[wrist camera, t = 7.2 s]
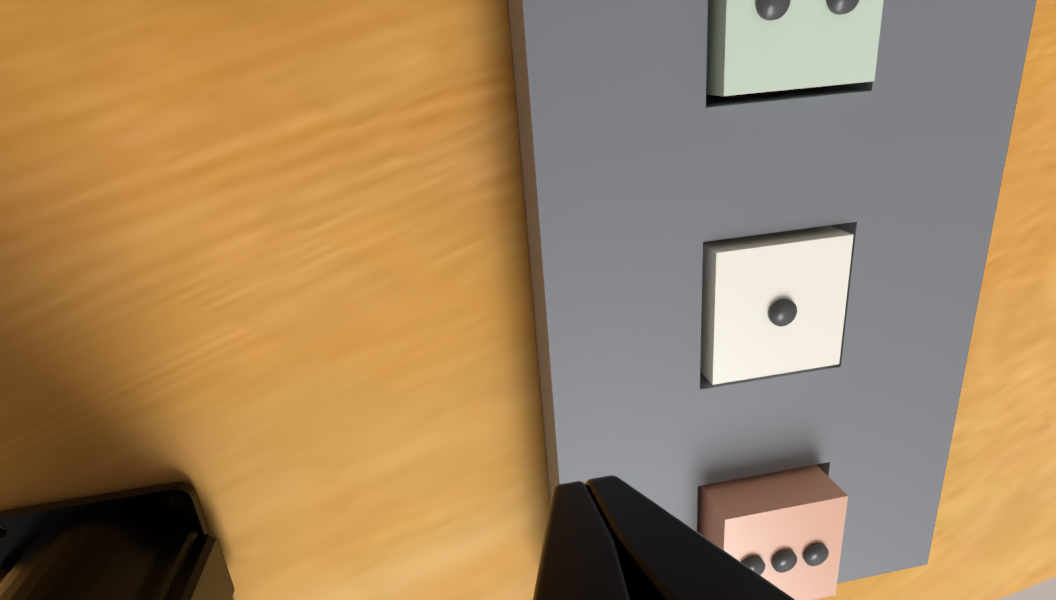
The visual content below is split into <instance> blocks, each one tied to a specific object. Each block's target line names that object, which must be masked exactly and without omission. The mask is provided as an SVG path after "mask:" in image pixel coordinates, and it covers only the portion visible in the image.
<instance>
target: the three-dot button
mask: <svg viewBox="0 0 1056 600" xmlns="http://www.w3.org/2000/svg"><path fill="white" fill-rule="evenodd" d="M847 501H848V495H847V494H846V493H845V492H844V491H843V490H842V489H841V488H839V487H838V486H837V485H836V484H835V483H834V482H833V481H832V480H831V479H830V478H829V477H828V476H827V475H826V474H825V473H824V472H823V471H822V470H821V469H820V468H819V467H818V466H817V465H816V464H815V465H810V466H805V467H799V468H794V469H788V470H783V471H778V472H772V473H767V474H761V475H756V476H750V477H745V478H740V479H734V480H729V481H723V482H718V483H713V484H707V485H702V486H698V502H697V532H698V533H700V534H701V535H703V536H704V537H705V538H707V539H708V540H710V541H711V542H713V543H714V544H716V545H717V546H718V547H720V548H721V549H723V550H724V551H726V552H727V553H729V554H730V555H731V556H733V557H734V558H736V559H737V560H739V561H740V562H742V563H743V564H745V565H746V566H747V567H749V568H750V569H752V570H753V571H755V572H756V573H758V574H759V575H760V576H762V577H763V578H765V579H766V580H768V581H769V582H771V583H772V584H773V585H775V586H776V587H778V588H779V589H781V590H782V591H784V592H785V593H786V594H788V595H789V596H791V597H792V598H794V599H795V600H815V599H820V598H824V597H829V596H833V595H836V587H837V579H838V571H839V563H840V556H841V548H842V540H843V532H844V524H845V517H846V509H847Z"/></svg>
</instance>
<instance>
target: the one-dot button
mask: <svg viewBox="0 0 1056 600" xmlns="http://www.w3.org/2000/svg"><path fill="white" fill-rule="evenodd" d="M852 244H853V234H851V233H848V232H846V231H843V230H840V229H838V228H835V227H832V226H830V225H829V226H821V227H813V228H806V229H798V230H790V231H783V232H775V233H768V234H760V235H752V236H745V237H737V238H730V239H722V240H714V241H707V242H703V262H702V310H701V358H700V372H701V373H702V374H703V375H704V376H705V377H706V378H707V379H708V380H709V381H710V383H711V384H712V385H714V384H720V383H727V382H733V381H739V380H745V379H751V378H757V377H763V376H770V375H776V374H782V373H788V372H794V371H800V370H806V369H813V368H819V367H825V366H831V365H837V364H839V361H840V352H841V343H842V334H843V325H844V316H845V307H846V298H847V289H848V280H849V271H850V262H851V253H852Z"/></svg>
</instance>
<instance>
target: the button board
mask: <svg viewBox="0 0 1056 600" xmlns="http://www.w3.org/2000/svg"><path fill="white" fill-rule="evenodd" d="M1036 1H1037V0H884V1H883V10H882V19H881V28H880V36H879V45H878V54H877V63H876V72H875V81H872V82H862V83H852V84H842V85H832V86H822V87H820V88H817V89H807V90H797V91H787V92H777V93H767V94H757V95H747V96H737V97H727V98H717V99H707V100H706V70H707V22H708V0H508V9H509V21H510V32H511V44H512V56H513V68H514V80H515V91H516V103H517V115H518V127H519V139H520V151H521V162H522V174H523V186H524V198H525V210H526V222H527V233H528V245H529V257H530V269H531V281H532V292H533V304H534V316H535V328H536V340H537V352H538V363H539V375H540V387H541V399H542V411H543V422H544V434H545V446H546V458H547V470H548V482H549V493H550V503H551V498H552V492H553V488H554V487H555V486H556V485H559V484H564V483H570V482H576V481H581V482H584V483H586V481H587V480H588V479H592V478H598V477H603V476H609V475H614V476H617V477H619V478H620V479H621V480H623V481H624V482H626V483H627V484H629V485H630V486H632V487H633V488H635V489H636V490H637V491H639V492H640V493H642V494H643V495H645V496H646V497H648V498H649V499H650V500H652V501H653V502H655V503H656V504H658V505H659V506H661V507H662V508H663V509H665V510H666V511H668V512H669V513H671V514H672V515H674V516H675V517H676V518H678V519H679V520H681V521H682V522H684V523H685V524H687V525H688V526H690V527H691V528H692V529H694V530H695V531H697V502H698V486H702V485H707V484H713V483H718V482H723V481H729V480H734V479H740V478H745V477H750V476H756V475H761V474H767V473H772V472H778V471H783V470H788V469H794V468H799V467H805V466H810V465H815V464H816V465H817V466H818V467H819V468H820V469H821V470H822V471H823V472H824V473H825V474H826V475H827V476H828V477H829V478H830V479H831V480H832V481H833V482H834V483H835V484H836V485H837V486H838V487H839V488H841V489H842V490H843V491H844V492H845V493H846V494H847V495H848V501H847V509H846V517H845V524H844V532H843V540H842V548H841V556H840V563H839V571H838V579H837V583H842V582H846V581H851V580H856V579H860V578H865V577H870V576H875V575H879V574H884V573H889V572H893V571H898V570H903V569H907V568H912V567H917V566H922V565H926V564H927V563H928V558H929V552H930V547H931V542H932V537H933V532H934V527H935V521H936V516H937V511H938V506H939V501H940V496H941V490H942V485H943V480H944V475H945V470H946V465H947V460H948V454H949V449H950V444H951V439H952V434H953V429H954V423H955V418H956V413H957V408H958V403H959V398H960V392H961V387H962V382H963V377H964V372H965V367H966V362H967V356H968V351H969V346H970V341H971V336H972V331H973V325H974V320H975V315H976V310H977V305H978V300H979V294H980V289H981V284H982V279H983V274H984V269H985V264H986V258H987V253H988V248H989V243H990V238H991V233H992V227H993V222H994V217H995V212H996V207H997V202H998V196H999V191H1000V186H1001V181H1002V176H1003V171H1004V166H1005V160H1006V155H1007V150H1008V145H1009V140H1010V135H1011V129H1012V124H1013V119H1014V114H1015V109H1016V104H1017V98H1018V93H1019V88H1020V83H1021V78H1022V73H1023V68H1024V62H1025V57H1026V52H1027V47H1028V42H1029V37H1030V31H1031V26H1032V21H1033V16H1034V11H1035V6H1036ZM829 225H830V226H832V227H835V228H838V229H840V230H843V231H846V232H848V233H851V234H853V244H852V253H851V262H850V271H849V280H848V289H847V298H846V307H845V316H844V325H843V334H842V343H841V352H840V361H839V364H837V365H831V366H825V367H819V368H813V369H806V370H800V371H794V372H788V373H782V374H776V375H770V376H763V377H757V378H751V379H745V380H739V381H733V382H727V383H720V384H714V385H712V384H711V383H710V381H709V380H708V379H707V378H706V377H705V376H704V375H703V374H702V373H701V372H700V358H701V310H702V262H703V242H707V241H714V240H722V239H730V238H737V237H745V236H752V235H760V234H768V233H775V232H783V231H790V230H798V229H806V228H813V227H821V226H829Z"/></svg>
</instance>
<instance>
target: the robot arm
mask: <svg viewBox="0 0 1056 600" xmlns="http://www.w3.org/2000/svg"><path fill="white" fill-rule="evenodd" d="M174 495H178V496H181V497H183V499H184V500H177V499H175V498H174V497H173V496H174ZM0 526H2V527H4V528H5V529H6V530H4V529H1V528H0V600H232V596H233V593H234V586H233V583H232V580H231V577H230V574H229V571H228V568H227V565H226V562H225V559H224V556H223V553H222V550H221V547H220V544H219V541H218V538H216V537H215V536H214V535H213V534H211V533H210V532H209V529H208V526H207V523H206V520H205V517H204V514H203V511H202V508H201V505H200V502H199V499H198V496H197V493H196V491H195V489H194V487H192V486H191V485H190V484H187V483H184V482H174V483H168V484H162V485H156V486H150V487H144V488H138V489H132V490H126V491H120V492H114V493H108V494H102V495H95V496H89V497H83V498H77V499H71V500H65V501H59V502H53V503H47V504H41V505H35V506H29V507H23V508H17V509H11V510H5V511H0ZM533 600H795V599H794V598H792V597H791V596H789V595H788V594H786V593H785V592H784V591H782V590H781V589H779V588H778V587H776V586H775V585H773V584H772V583H771V582H769V581H768V580H766V579H765V578H763V577H762V576H760V575H759V574H758V573H756V572H755V571H753V570H752V569H750V568H749V567H747V566H746V565H745V564H743V563H742V562H740V561H739V560H737V559H736V558H734V557H733V556H731V555H730V554H729V553H727V552H726V551H724V550H723V549H721V548H720V547H718V546H717V545H716V544H714V543H713V542H711V541H710V540H708V539H707V538H705V537H704V536H703V535H701V534H700V533H698V532H697V531H695V530H694V529H692V528H691V527H690V526H688V525H687V524H685V523H684V522H682V521H681V520H679V519H678V518H676V517H675V516H674V515H672V514H671V513H669V512H668V511H666V510H665V509H663V508H662V507H661V506H659V505H658V504H656V503H655V502H653V501H652V500H650V499H649V498H648V497H646V496H645V495H643V494H642V493H640V492H639V491H637V490H636V489H635V488H633V487H632V486H630V485H629V484H627V483H626V482H624V481H623V480H621V479H620V478H619V477H617V476H614V475H609V476H603V477H598V478H592V479H588V480H587V481H586V483H584V482H581V481H576V482H570V483H564V484H559V485H556V486H555V487H554V488H553V492H552V498H551V503H550V509H549V514H548V520H547V525H546V531H545V536H544V542H543V547H542V553H541V558H540V564H539V569H538V575H537V580H536V586H535V591H534V597H533Z"/></svg>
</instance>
